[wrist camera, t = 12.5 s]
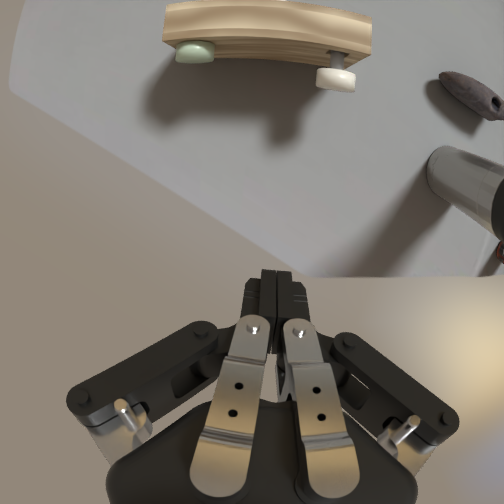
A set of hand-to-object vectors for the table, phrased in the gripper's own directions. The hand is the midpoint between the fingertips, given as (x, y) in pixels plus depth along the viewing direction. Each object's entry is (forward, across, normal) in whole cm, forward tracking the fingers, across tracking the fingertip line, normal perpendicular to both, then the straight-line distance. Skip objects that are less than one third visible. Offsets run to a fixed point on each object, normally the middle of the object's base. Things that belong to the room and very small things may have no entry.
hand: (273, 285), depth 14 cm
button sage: (+22, +10, -18) cm, 30 cm away
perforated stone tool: (+29, -32, -20) cm, 48 cm away
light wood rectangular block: (+29, +2, -19) cm, 35 cm away
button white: (+22, -6, -15) cm, 28 cm away
